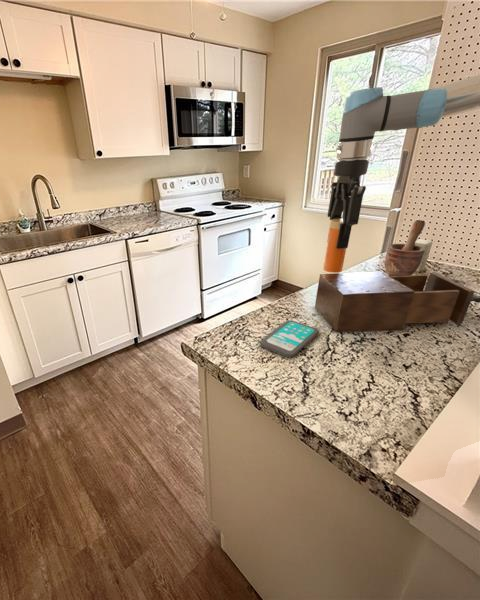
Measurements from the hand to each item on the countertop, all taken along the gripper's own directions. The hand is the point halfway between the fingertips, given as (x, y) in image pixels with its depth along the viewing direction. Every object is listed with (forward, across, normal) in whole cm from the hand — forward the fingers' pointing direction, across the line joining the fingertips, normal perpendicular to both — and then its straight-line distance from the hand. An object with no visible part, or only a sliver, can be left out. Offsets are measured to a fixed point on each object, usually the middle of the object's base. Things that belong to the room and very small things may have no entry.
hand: (337, 245), depth 91 cm
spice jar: (+8, 0, 0) cm, 8 cm away
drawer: (+15, +16, +16) cm, 27 cm away
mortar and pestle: (+16, -4, +22) cm, 27 cm away
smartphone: (+16, +26, -20) cm, 36 cm away
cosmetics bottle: (+16, -17, +36) cm, 43 cm away
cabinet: (+16, +16, 0) cm, 23 cm away
